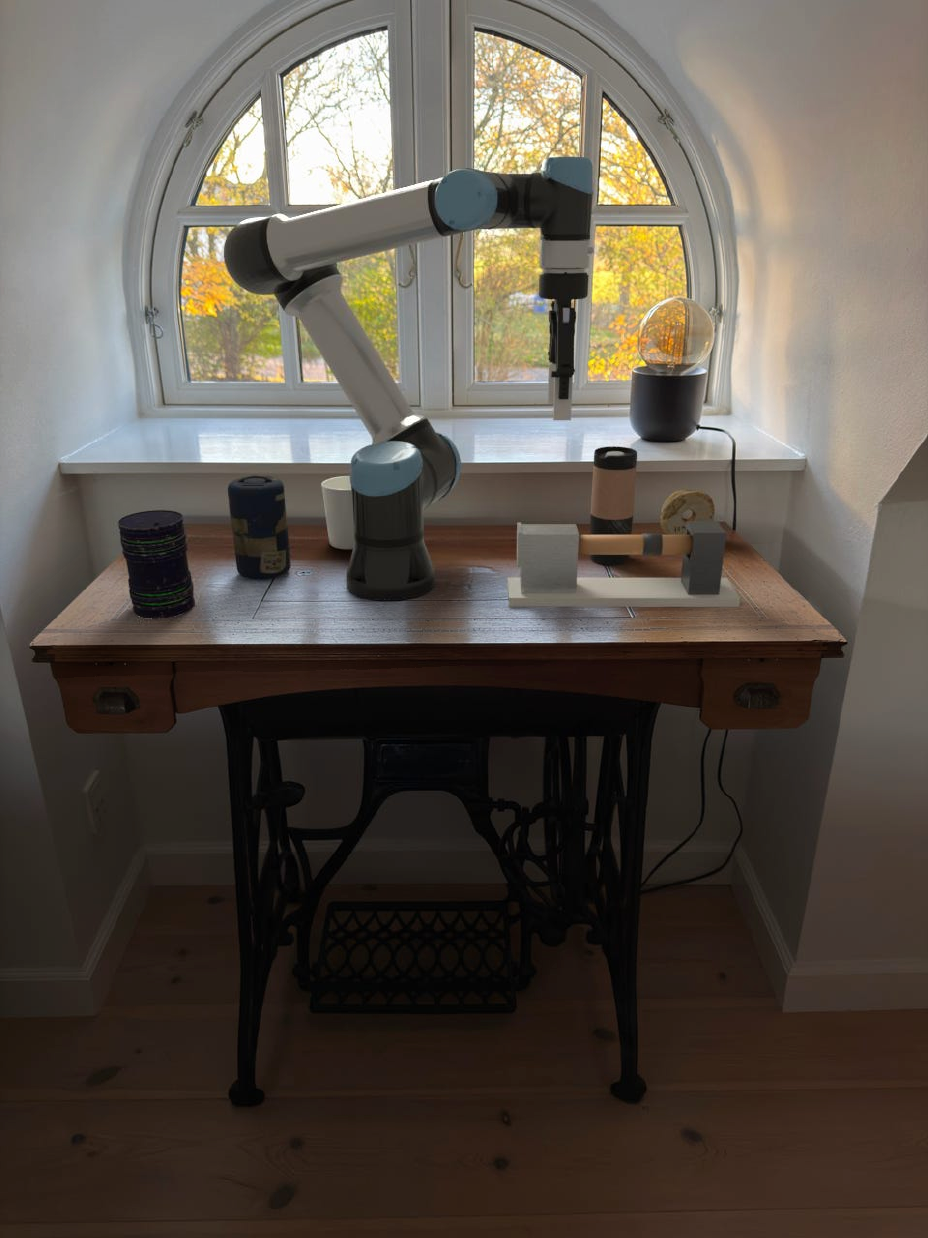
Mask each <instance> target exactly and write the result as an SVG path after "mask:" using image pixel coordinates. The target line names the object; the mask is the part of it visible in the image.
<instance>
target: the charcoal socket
mask: <svg viewBox="0 0 928 1238" xmlns="http://www.w3.org/2000/svg"><path fill="white" fill-rule="evenodd" d="M685 535H692V546H691V555H682V565H681V574H680V578H681V582H682V584H683V586H684V588H685V590H686V592H687V594H688V595H719V592H720V584H721V578H722V574H723V568H724V567H723V565H724V559H725V558H724V556H725V550H726V549H725V547H726V540H727V531H726V530H725V529H724V527H722V525H721V524H720V522H719V520H714V521H687V522H686V532H685Z"/></svg>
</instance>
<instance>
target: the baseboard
mask: <svg viewBox="0 0 928 1238" xmlns="http://www.w3.org/2000/svg"><path fill="white" fill-rule="evenodd" d="M507 595H508V596H507V597H508V600H507V602H508V607H511V608H512V607H513V608H514V607H525V608H526V607H527V608H529V607H531V608H534V607H538V608H539V607H550V608H551V607H554V608H556V607H562V608H563V607H564V608H565V607H569V608H570V607H572V608H573V607H575V608H576V607H577V608H579V607H582V608H583V607H584V608H585V607H589V608H590V607H592V608H599V607H600V608H601V607H602V608H603V607H605V608H607V607H610V608H611V607H612V608H614V607H615V608H619V607H621V608H622V607H623V608H625V607H626V608H627V607H628V608H630V607H631V608H633V607H635V608H638V607H639V608H641V607H644V608H646V607H647V608H649V607H651V608H654V607H655V608H657V607H658V608H659V607H660V608H667V607H668V608H673V607H675V608H676V607H677V608H682V607H683V608H740V604H741V597H740V596H739V594H738V593H737V592H736V589H735V588H734V587H733V585H732V584H731V582H730V580H728V578H727V577H721V584H720V592H719V595H688V594H687V592H686V590H685V588H684V586H683V584H682V582H681V577H577V590H576V594H534V593H521V589H520V577H507Z"/></svg>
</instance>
